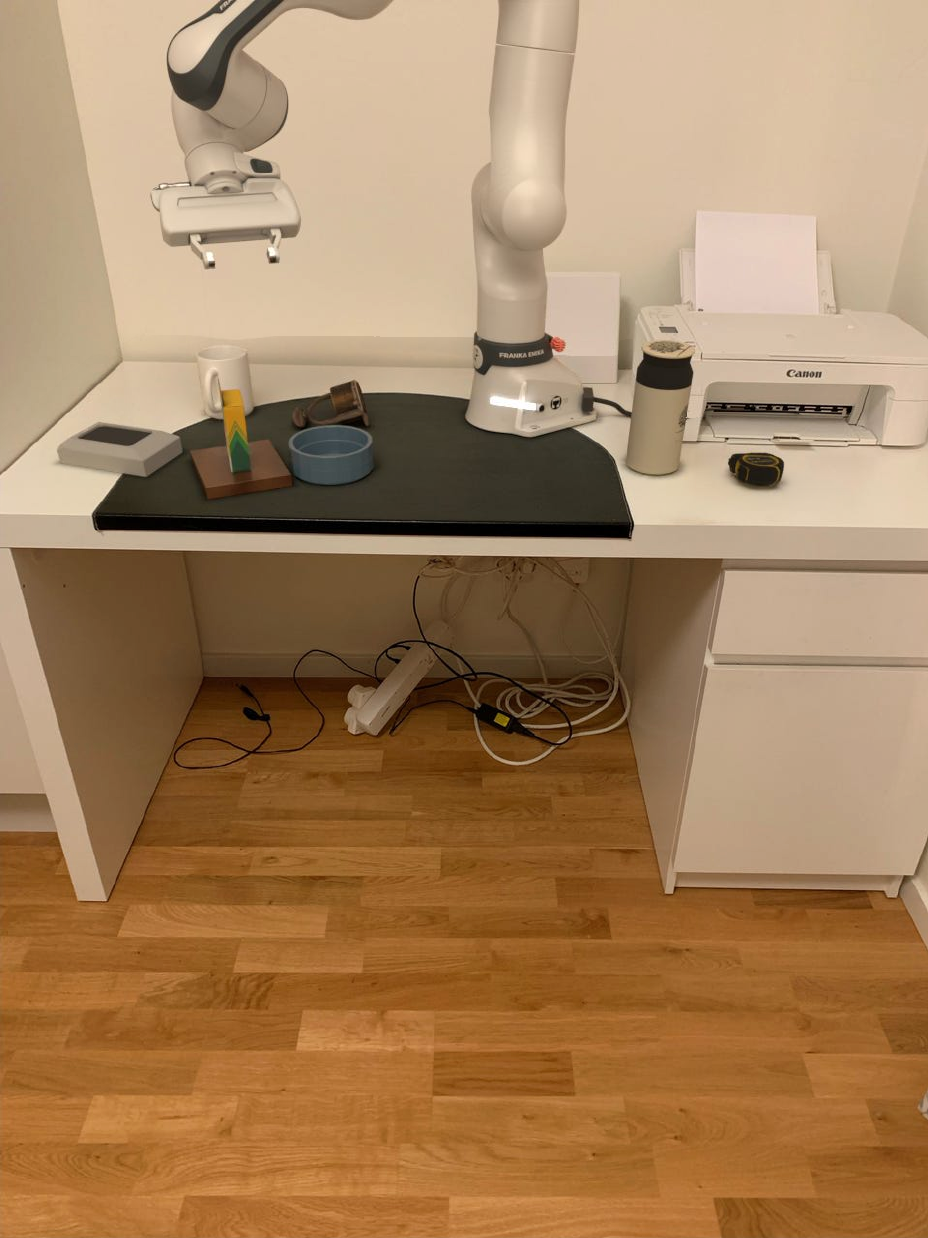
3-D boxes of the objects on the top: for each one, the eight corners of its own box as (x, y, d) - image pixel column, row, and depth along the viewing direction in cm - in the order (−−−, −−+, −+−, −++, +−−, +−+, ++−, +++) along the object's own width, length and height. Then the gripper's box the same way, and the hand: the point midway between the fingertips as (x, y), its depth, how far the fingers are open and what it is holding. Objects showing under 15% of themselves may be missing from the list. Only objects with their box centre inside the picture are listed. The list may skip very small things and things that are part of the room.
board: (270, 450, 136) (268, 439, 135) (292, 485, 126) (291, 474, 125) (191, 461, 132) (189, 450, 131) (207, 499, 122) (205, 487, 121)
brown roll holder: (360, 407, 137) (378, 373, 144) (283, 393, 139) (304, 360, 145) (361, 444, 143) (379, 411, 149) (287, 430, 144) (307, 398, 151)
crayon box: (252, 471, 125) (242, 392, 119) (231, 473, 125) (219, 394, 118) (248, 451, 131) (237, 375, 125) (227, 453, 131) (216, 377, 124)
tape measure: (769, 471, 132) (774, 448, 130) (787, 491, 126) (793, 467, 124) (725, 472, 131) (730, 449, 129) (741, 492, 126) (746, 468, 124)
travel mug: (615, 466, 133) (629, 347, 123) (642, 450, 138) (657, 335, 128) (662, 481, 129) (680, 359, 118) (687, 464, 134) (707, 346, 124)
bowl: (359, 447, 137) (357, 420, 135) (384, 478, 128) (383, 449, 126) (283, 459, 133) (279, 431, 131) (303, 491, 124) (300, 462, 122)
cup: (261, 404, 153) (254, 346, 147) (236, 429, 143) (228, 368, 137) (216, 401, 154) (207, 343, 148) (188, 426, 144) (178, 365, 138)
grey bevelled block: (141, 453, 126) (54, 440, 129) (146, 476, 128) (60, 463, 131) (178, 429, 133) (95, 417, 137) (182, 452, 135) (100, 439, 139)
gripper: (146, 169, 123) (169, 256, 121) (288, 162, 130) (312, 244, 128) (148, 199, 129) (170, 282, 127) (284, 191, 136) (307, 270, 134)
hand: (242, 263), depth 128 cm, fingers open, 8 cm apart
